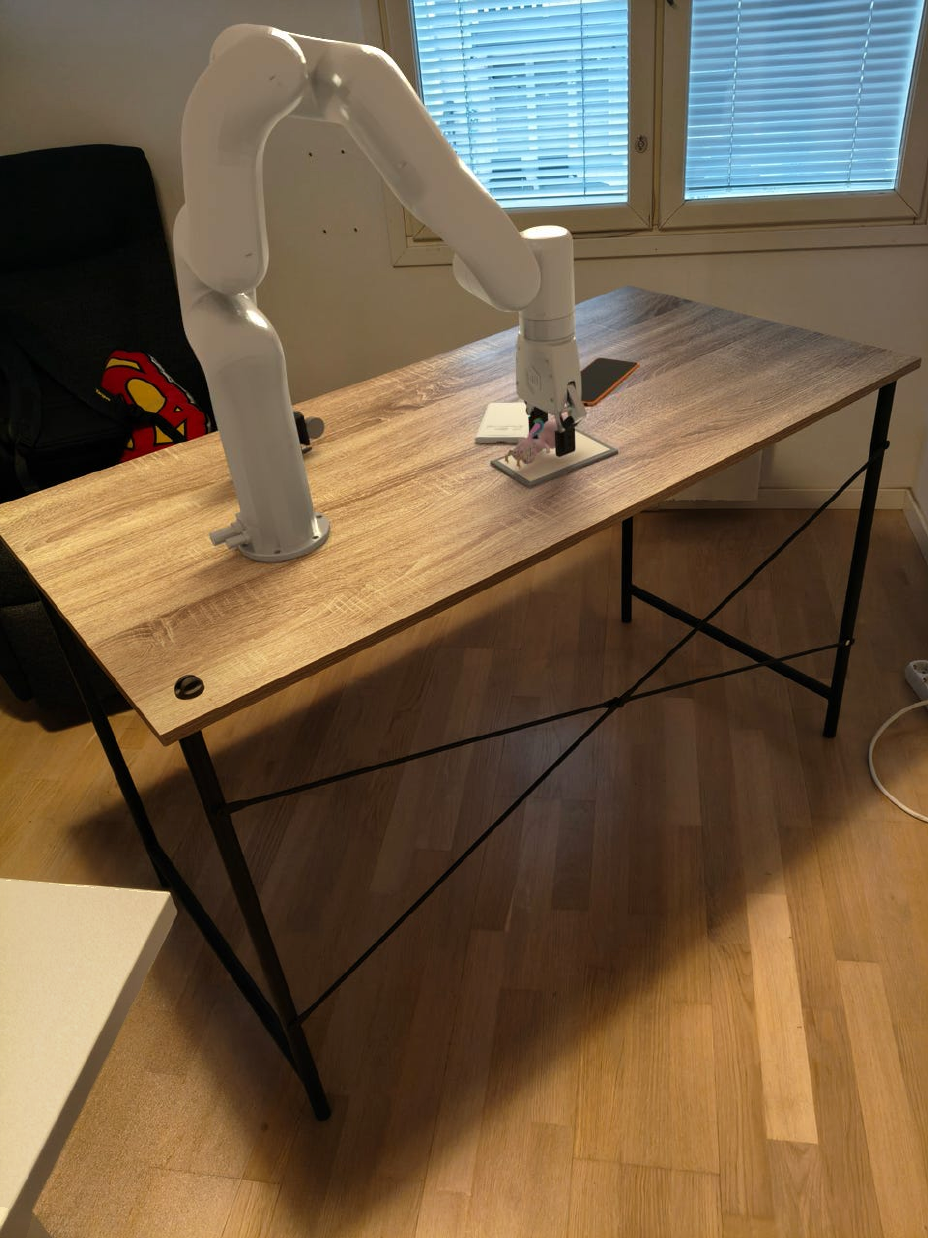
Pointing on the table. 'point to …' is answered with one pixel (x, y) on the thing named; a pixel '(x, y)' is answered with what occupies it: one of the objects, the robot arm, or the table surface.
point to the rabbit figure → (536, 441)
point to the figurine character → (307, 429)
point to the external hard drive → (503, 423)
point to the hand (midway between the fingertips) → (552, 445)
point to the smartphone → (603, 378)
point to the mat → (556, 461)
